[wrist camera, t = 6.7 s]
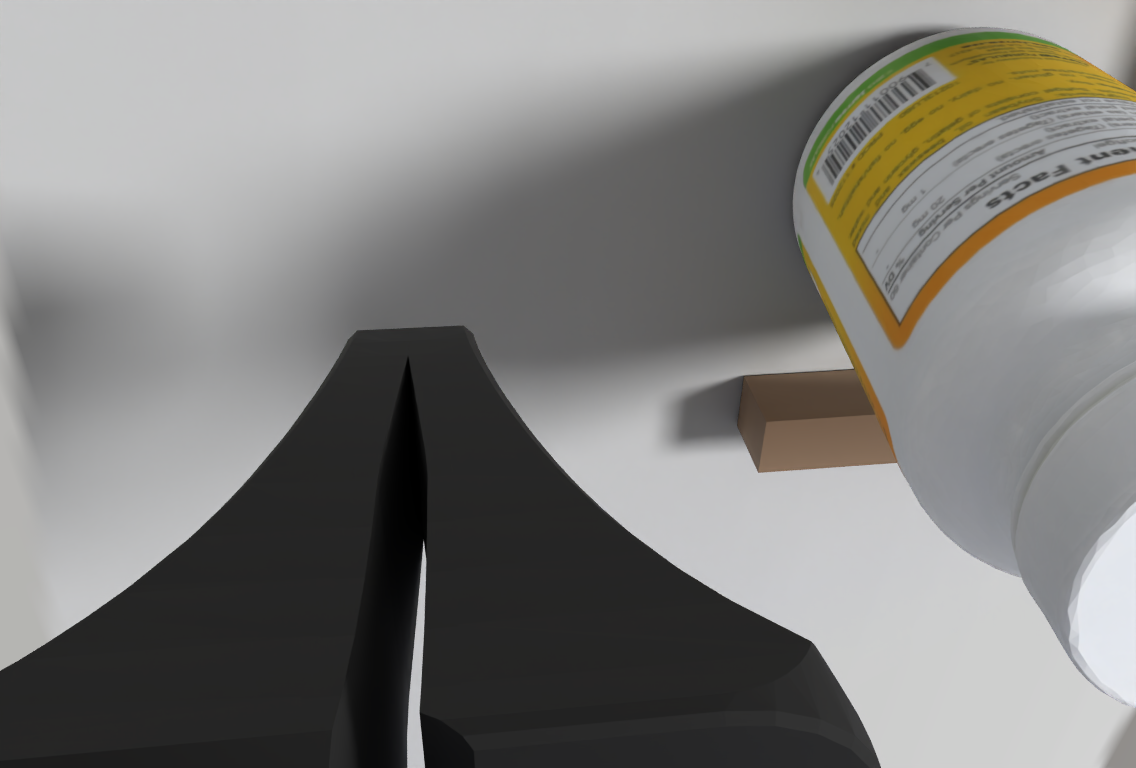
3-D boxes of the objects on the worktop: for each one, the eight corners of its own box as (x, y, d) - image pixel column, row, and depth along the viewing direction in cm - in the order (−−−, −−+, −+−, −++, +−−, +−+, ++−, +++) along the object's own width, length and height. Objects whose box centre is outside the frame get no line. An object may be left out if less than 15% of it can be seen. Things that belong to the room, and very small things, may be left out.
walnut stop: (1123, 400, 21) (1166, 443, 20) (737, 425, 20) (758, 473, 19) (1348, -158, 15) (1432, -145, 14) (818, -159, 14) (857, -146, 13)
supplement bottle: (1062, 312, 19) (1453, 762, 10) (775, 321, 19) (939, 775, 10) (1146, 13, 16) (1782, 316, 7) (803, 24, 16) (1065, 336, 8)
